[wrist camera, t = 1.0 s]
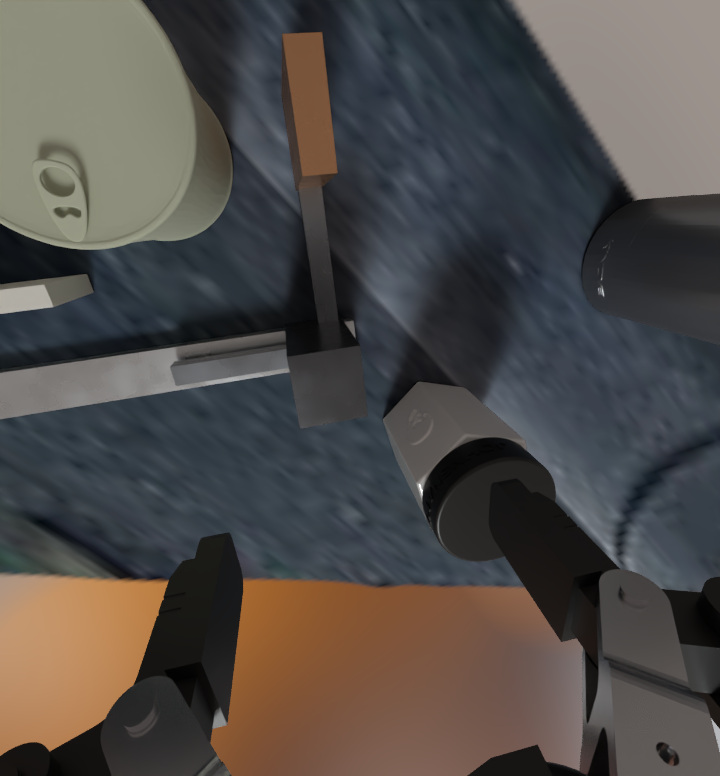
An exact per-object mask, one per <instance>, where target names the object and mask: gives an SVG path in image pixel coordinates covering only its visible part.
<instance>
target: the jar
mask: <svg viewBox="0 0 720 776" xmlns="http://www.w3.org/2000/svg"><path fill="white" fill-rule="evenodd" d="M383 422H384V425H385V428H386V431H387V434H388V437H389V440H390V443H391V446H392V449H393V452H394V455H395V457H396V460H397V462H398V464H399V466H400V468H401V470H402V472H403V474H404V476H405V478H406V480H407V482H408V484H409V486H410V488H411V490H412V492H413V494H414V496H415V498H416V500H417V502H418V504H419V506H420V508H421V510H422V512H423V514H424V516H425V518H426V520H427V522H428V524H429V526H430V528H431V530H433V531H434V533H435V535H436V537H437V539H438V541H439V543H440V544H441V546H442V547H443V548H444V549H445V550H446V551H447V552H448V553H450V554H451V555H453V556H455V557H457V558H460V559H463V560H467V561H475V562H481V561H489V560H494V559H498V558H501V557H504V554H503V553H502V551H501V550H500V548H499V547H498V545H497V544H496V542H495V540H494V539H493V537H492V534H491V531H490V527H489V505H490V489H491V485H492V483H494V482H499V481H504V480H509V479H514V478H516V479H519V480H520V481H521V482H522V483H523V484H524V485H525V486H526V488H527V489H528V490H529V491H530V492H531V493H533V492H539V493H541V494H542V495H544V496H546V497H548V498H549V499H551V500H553V501H554V502H555V498H556V491H555V484H554V481H553V478H552V476H551V475H550V473H549V472H548V470H547V469H546V468H545V467H544V466H543V465H542V464H541V463H539V462H538V461H537V460H536V459H535V458H534V457H533V456H532V455H531V454H530V453H529V452H527V447H526V441H525V440H524V439H523V438H522V437H521V436H520V435H519V434H517V433H516V432H515V431H514V430H513V429H512V428H511V427H509V426H508V425H507V424H506V423H505V422H504V421H503V420H501V419H500V418H499V417H498V416H497V415H496V414H495V413H493V412H492V411H491V410H490V409H489V408H488V407H487V406H485V405H484V404H483V403H482V402H481V401H480V400H479V399H477V398H476V397H475V396H474V395H473V394H472V393H471V392H469V391H468V390H467V389H466V388H464V387H457V386H449V385H442V384H435V383H427V382H417V383H416V384H415V385H414V386H413V387H412V388H411V390H410V391H409V392H408V393H407V394H406V395H405V396H404V397H403V398H402V399H401V400H400V401H399V402H398V404H397V405H396V406H395V407H394V408H393V409H392V410H391V411H390V412H389V413H388V414H387V415H386V416H385V417H384V419H383Z"/></svg>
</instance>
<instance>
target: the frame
mask: <svg viewBox="0 0 720 776" xmlns="http://www.w3.org/2000/svg"><path fill="white" fill-rule="evenodd" d="M91 293H94V291H93V289H92V286H91V283H90V281H89V278H88V275H87V274H82V275H73V276H65V277H57V278H48V279H40V280H32V281H23V282H15V283H7V284H0V314H3V313H11V312H18V311H26V310H34V309H42V308H49V307H55V306H58V305H60V304H63V303H66V302H69V301H72V300H74V299H77V298H80V297H83V296H86V295H88V294H91Z"/></svg>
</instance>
